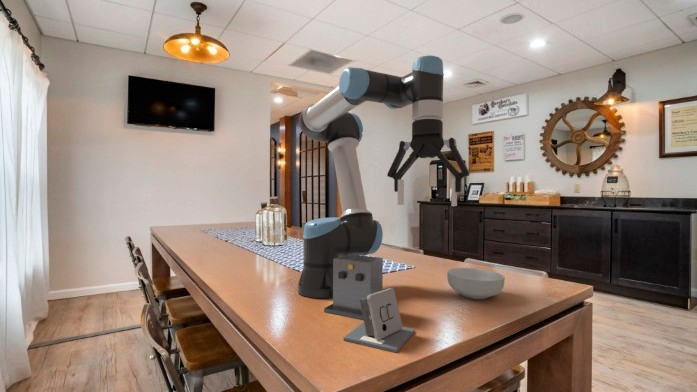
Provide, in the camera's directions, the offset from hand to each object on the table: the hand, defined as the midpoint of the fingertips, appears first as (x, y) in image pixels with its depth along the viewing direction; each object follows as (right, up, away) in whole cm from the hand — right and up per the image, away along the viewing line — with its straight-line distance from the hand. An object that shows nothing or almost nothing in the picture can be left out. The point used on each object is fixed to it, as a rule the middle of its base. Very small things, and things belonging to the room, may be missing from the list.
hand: (426, 205), depth 87 cm
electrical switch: (-12, -28, -10) cm, 32 cm away
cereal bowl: (+20, -29, +21) cm, 41 cm away
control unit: (-17, -29, +7) cm, 34 cm away
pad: (-13, -29, -10) cm, 33 cm away
